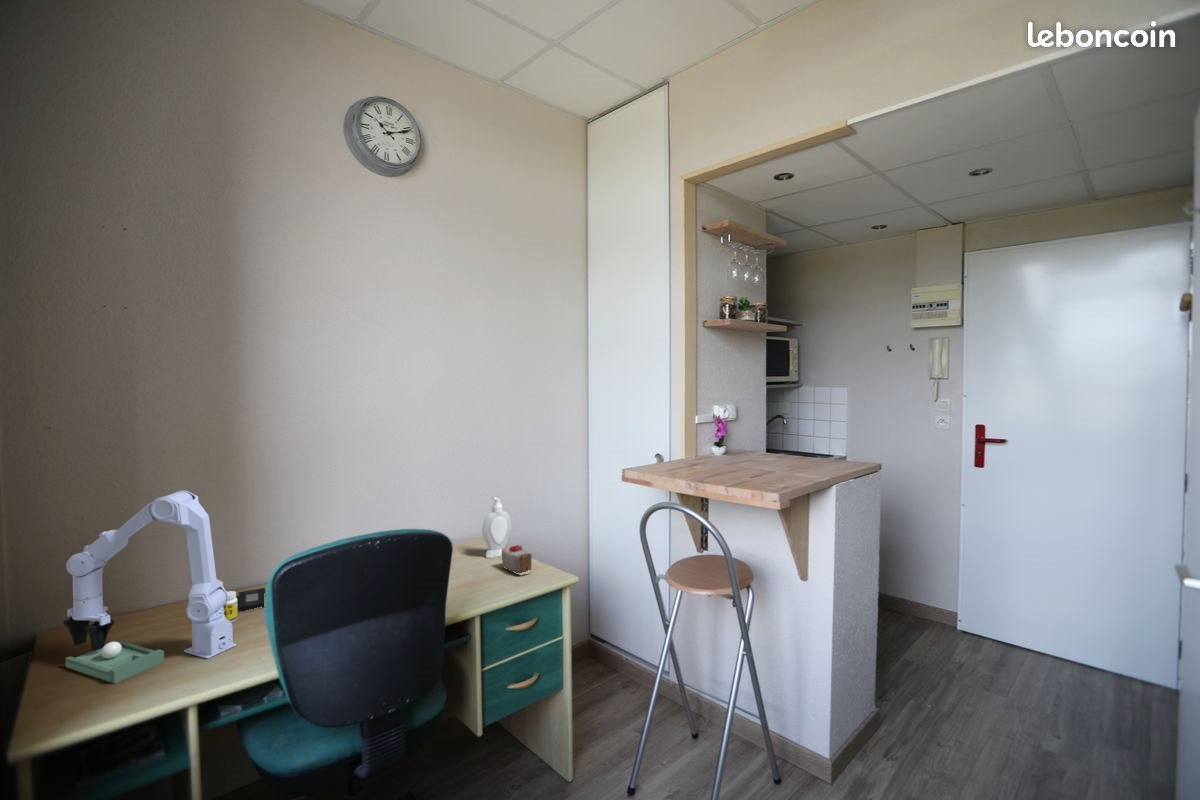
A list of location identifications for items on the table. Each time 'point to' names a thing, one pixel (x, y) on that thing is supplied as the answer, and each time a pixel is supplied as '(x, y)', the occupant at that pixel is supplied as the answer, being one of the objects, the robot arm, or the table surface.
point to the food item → (516, 559)
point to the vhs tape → (251, 599)
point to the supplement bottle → (231, 607)
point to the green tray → (116, 662)
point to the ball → (111, 650)
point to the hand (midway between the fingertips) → (89, 646)
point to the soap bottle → (496, 529)
